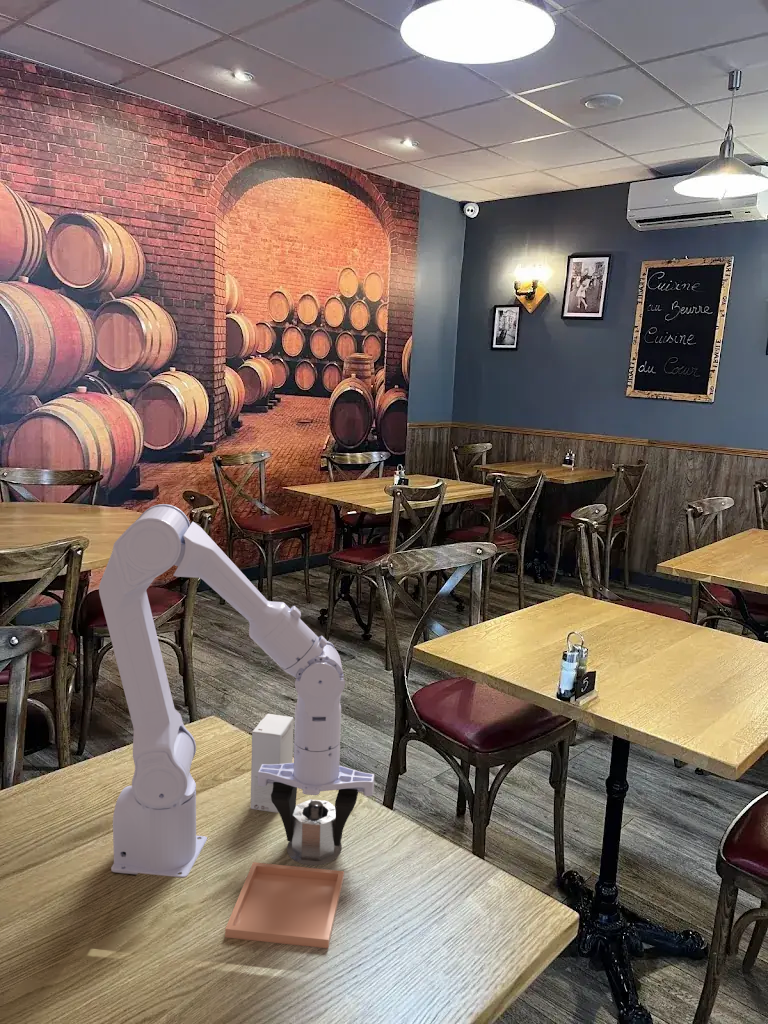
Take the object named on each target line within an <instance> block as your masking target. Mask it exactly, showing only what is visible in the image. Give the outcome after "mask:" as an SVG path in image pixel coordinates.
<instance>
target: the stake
mask: <svg viewBox="0 0 768 1024" xmlns="http://www.w3.org/2000/svg"><path fill="white" fill-rule="evenodd" d="M322 812H323V804H322V802H320V801H312V802H310V803H309V805H308V819H316V820H319V819H321V818H322ZM342 849H343V846H342V842H341V843H340V846H336V849H335V852H334V855H332V856H330V857H328V858H326V859H324V860H322V861H319V862H318V861H308V860H301V859H300V858H299V857H298V856H297V855H296V854H295V853H294V852H293V851H292V841H288V843H287V846H286V851H287V855H288V856H289V857H290V858H291V860H294V861H295V862H297V863H299V864H301V865H305V866H306V865H307V866H322V865H325V864H328V863H330V862H334V860H336V859H337V858H338V857H339V856H340V855H341V853H342Z"/></svg>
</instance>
